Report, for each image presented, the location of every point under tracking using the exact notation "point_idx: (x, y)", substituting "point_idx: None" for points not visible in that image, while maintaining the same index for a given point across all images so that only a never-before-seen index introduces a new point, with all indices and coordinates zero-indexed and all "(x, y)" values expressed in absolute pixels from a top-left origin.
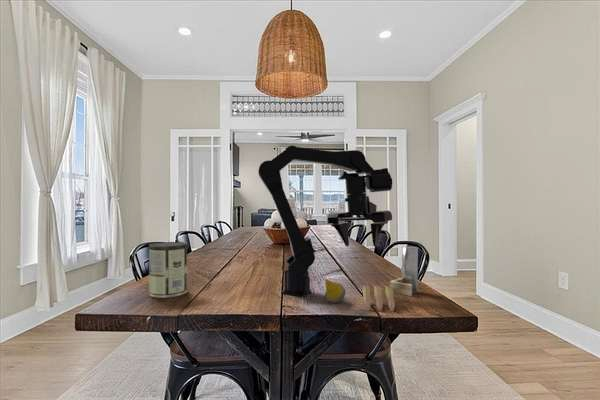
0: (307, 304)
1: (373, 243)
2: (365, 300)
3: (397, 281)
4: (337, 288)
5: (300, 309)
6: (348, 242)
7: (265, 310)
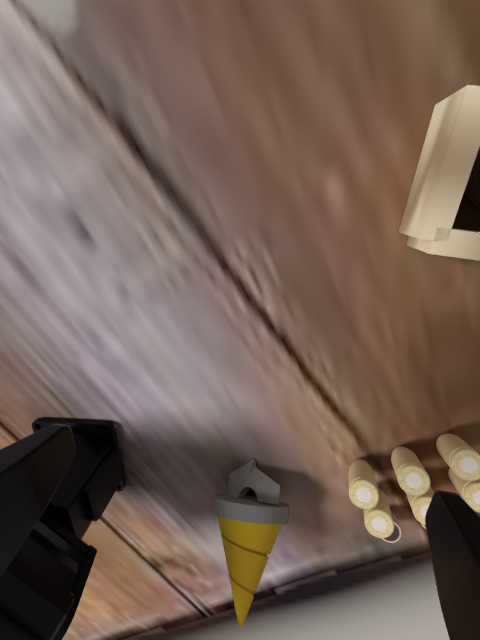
0: (198, 533)
1: (440, 579)
2: (384, 538)
3: (463, 187)
4: (270, 552)
5: (210, 570)
6: (41, 456)
7: (148, 600)
